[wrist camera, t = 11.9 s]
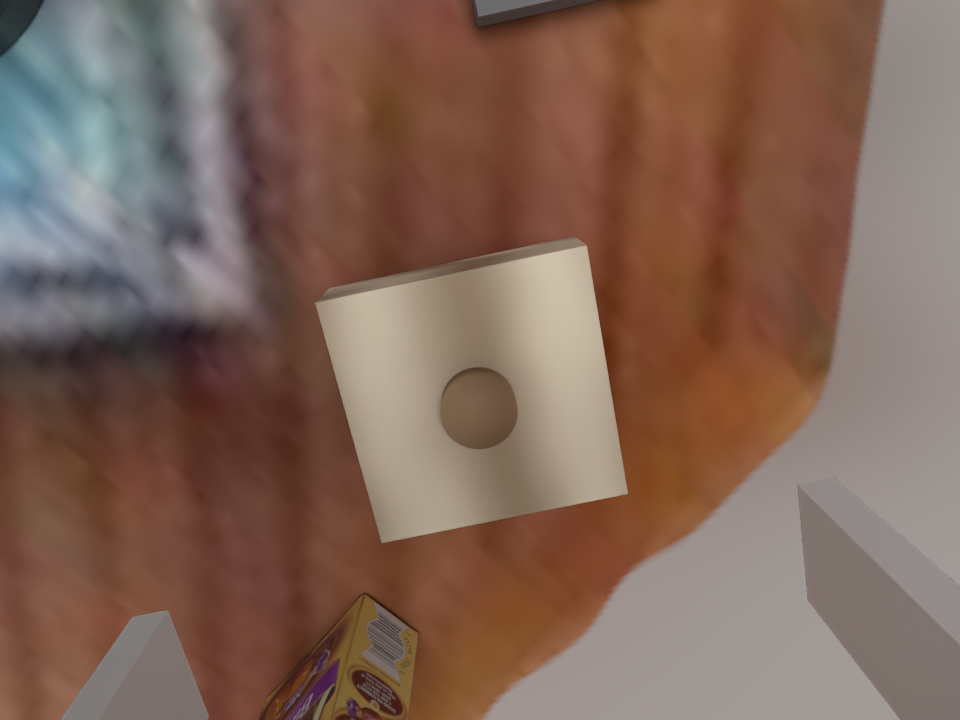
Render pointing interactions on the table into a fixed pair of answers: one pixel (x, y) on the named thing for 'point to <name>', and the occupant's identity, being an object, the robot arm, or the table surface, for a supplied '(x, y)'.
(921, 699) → the robot arm
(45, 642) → the table surface
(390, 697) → the candy box
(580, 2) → the gray rectangular block
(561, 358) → the lid
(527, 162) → the table surface
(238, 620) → the table surface
